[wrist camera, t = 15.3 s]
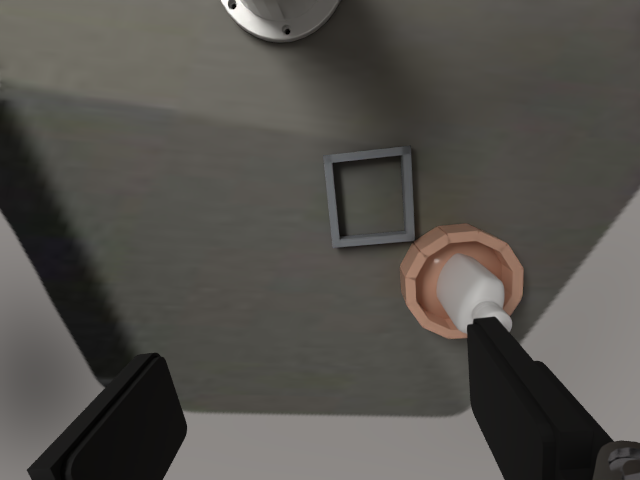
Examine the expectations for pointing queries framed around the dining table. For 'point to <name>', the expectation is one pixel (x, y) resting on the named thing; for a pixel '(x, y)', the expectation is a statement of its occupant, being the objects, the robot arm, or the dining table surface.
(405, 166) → the open rectangular frame
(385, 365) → the dining table surface
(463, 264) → the eye dropper bottle
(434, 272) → the bowl
